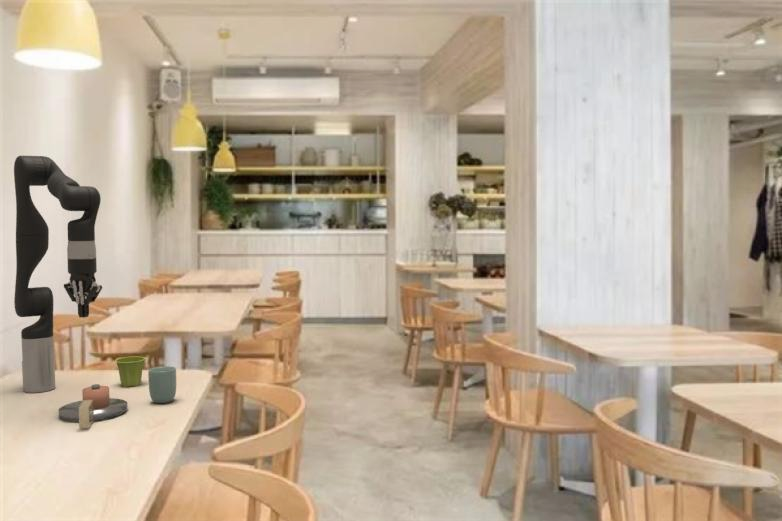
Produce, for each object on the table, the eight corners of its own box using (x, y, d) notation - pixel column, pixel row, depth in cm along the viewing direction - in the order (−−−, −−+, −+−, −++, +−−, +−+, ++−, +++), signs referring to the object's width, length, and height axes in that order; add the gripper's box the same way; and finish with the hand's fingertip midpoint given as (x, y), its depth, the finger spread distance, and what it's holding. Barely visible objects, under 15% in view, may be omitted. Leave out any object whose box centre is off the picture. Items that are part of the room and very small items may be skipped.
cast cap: (81, 410, 195) (80, 388, 194) (85, 403, 202) (84, 383, 201) (108, 408, 197) (107, 387, 196) (111, 401, 203) (110, 381, 203)
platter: (46, 431, 181) (45, 410, 181) (65, 406, 205) (64, 387, 205) (121, 425, 186) (120, 404, 185) (130, 401, 210) (129, 383, 210)
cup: (168, 405, 207) (167, 372, 206) (144, 404, 208) (143, 371, 208) (181, 399, 214) (180, 366, 214) (158, 398, 216) (157, 365, 215)
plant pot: (152, 383, 235) (151, 357, 235) (131, 389, 227) (130, 363, 226) (131, 380, 239) (130, 355, 239) (109, 386, 231) (108, 360, 230)
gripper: (54, 256, 199) (56, 317, 200) (88, 258, 194) (90, 320, 195) (75, 255, 206) (77, 313, 207) (109, 256, 200) (111, 316, 202)
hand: (83, 317), depth 201 cm, fingers closed
